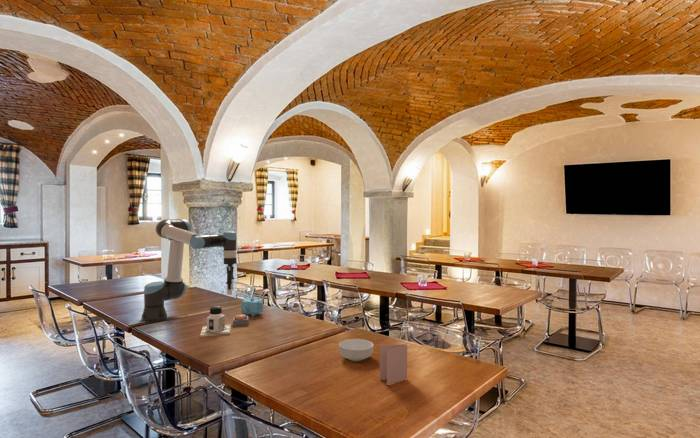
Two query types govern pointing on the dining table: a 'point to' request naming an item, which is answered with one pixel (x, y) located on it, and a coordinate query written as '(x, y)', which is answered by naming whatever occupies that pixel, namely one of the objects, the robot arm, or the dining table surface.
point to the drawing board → (215, 333)
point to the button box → (240, 322)
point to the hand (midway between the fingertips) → (230, 292)
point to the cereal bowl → (356, 349)
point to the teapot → (252, 306)
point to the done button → (240, 317)
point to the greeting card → (393, 363)
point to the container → (215, 319)
